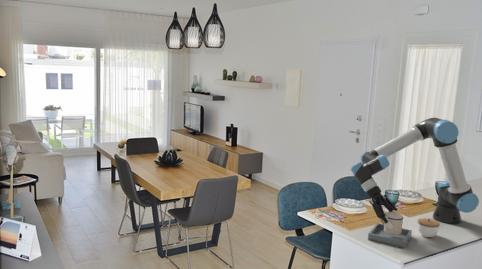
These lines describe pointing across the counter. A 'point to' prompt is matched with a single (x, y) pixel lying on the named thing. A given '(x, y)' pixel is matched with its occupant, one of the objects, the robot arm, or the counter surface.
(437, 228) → the lidded jar
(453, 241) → the counter surface
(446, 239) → the counter surface
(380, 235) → the tray
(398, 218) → the teacup with lid
